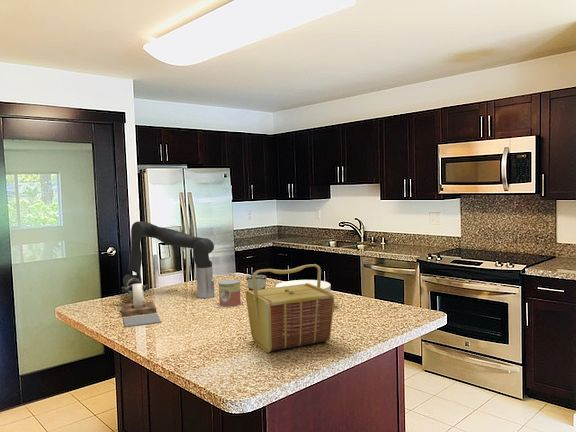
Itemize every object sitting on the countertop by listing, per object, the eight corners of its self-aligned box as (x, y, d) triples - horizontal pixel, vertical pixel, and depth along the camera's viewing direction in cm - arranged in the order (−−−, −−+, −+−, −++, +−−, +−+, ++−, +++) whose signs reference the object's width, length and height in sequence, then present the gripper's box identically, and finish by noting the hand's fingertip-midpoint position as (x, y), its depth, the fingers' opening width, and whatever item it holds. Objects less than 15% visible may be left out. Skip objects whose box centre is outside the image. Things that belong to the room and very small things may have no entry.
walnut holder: (153, 305, 254) (152, 301, 254) (156, 312, 240) (156, 307, 239) (121, 309, 249) (121, 304, 248) (123, 316, 234) (122, 311, 234)
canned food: (215, 306, 249) (214, 283, 249) (226, 301, 260) (225, 279, 259) (234, 307, 245) (233, 284, 245) (244, 302, 256) (243, 280, 255)
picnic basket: (267, 359, 169) (264, 275, 167) (244, 339, 193) (241, 265, 191) (338, 345, 181) (336, 267, 179) (308, 328, 204) (306, 259, 203)
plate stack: (292, 317, 222) (291, 293, 222) (267, 305, 247) (266, 284, 246) (342, 309, 235) (341, 286, 234) (313, 298, 260) (312, 277, 259)
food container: (268, 291, 282) (268, 274, 281) (267, 293, 276) (266, 276, 275) (248, 291, 283) (247, 274, 282) (246, 293, 277) (245, 276, 276)
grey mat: (157, 314, 236) (157, 313, 236) (161, 322, 221) (161, 321, 221) (123, 318, 230) (123, 317, 230) (125, 327, 215) (125, 326, 215)
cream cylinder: (143, 309, 247) (141, 283, 246) (144, 311, 243) (142, 284, 242) (133, 310, 245) (132, 284, 245) (134, 312, 241) (132, 285, 240)
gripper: (120, 280, 266) (121, 285, 251) (146, 277, 271) (149, 282, 256) (121, 293, 266) (122, 299, 251) (147, 290, 272) (150, 296, 256)
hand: (136, 290), depth 254 cm, fingers open, 8 cm apart
